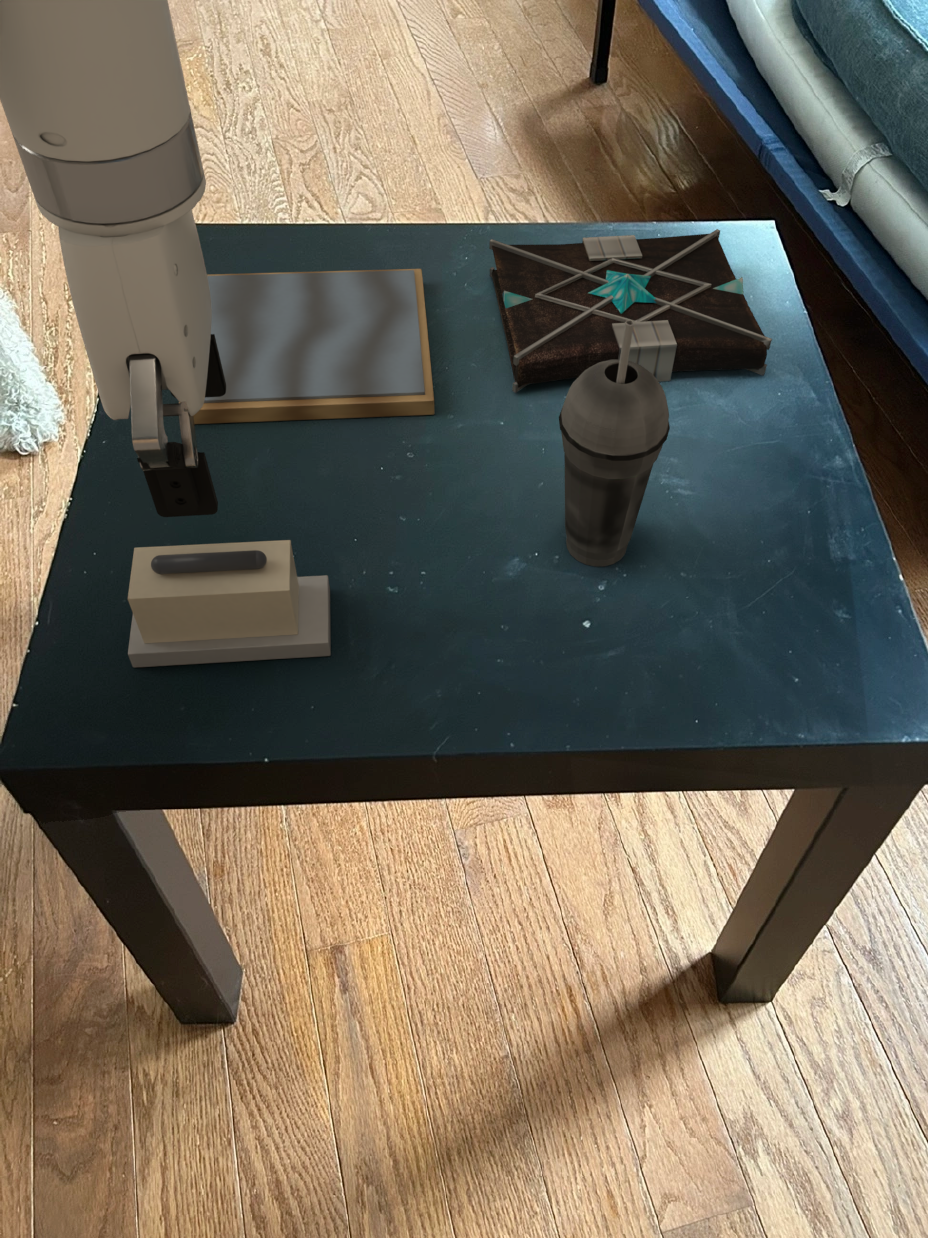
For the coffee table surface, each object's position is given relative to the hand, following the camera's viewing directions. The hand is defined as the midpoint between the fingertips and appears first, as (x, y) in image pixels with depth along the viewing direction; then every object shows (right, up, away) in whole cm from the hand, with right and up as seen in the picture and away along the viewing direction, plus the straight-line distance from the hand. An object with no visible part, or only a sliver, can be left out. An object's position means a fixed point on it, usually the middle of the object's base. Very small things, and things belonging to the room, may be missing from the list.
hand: (194, 450), depth 63 cm
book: (+28, +18, +34) cm, 48 cm away
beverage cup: (+24, -3, +19) cm, 31 cm away
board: (+1, +15, +31) cm, 34 cm away
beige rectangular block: (-1, -9, +13) cm, 16 cm away
